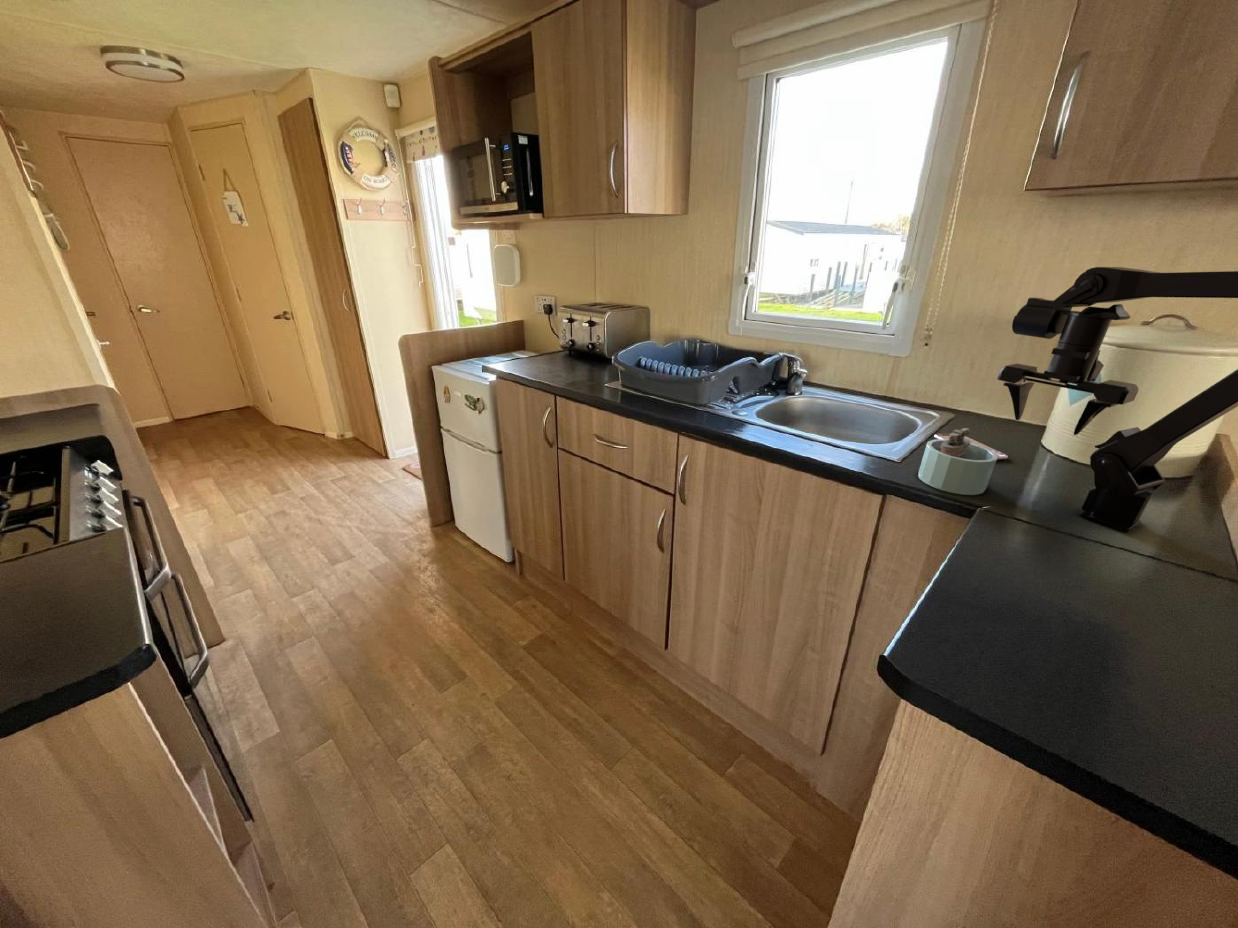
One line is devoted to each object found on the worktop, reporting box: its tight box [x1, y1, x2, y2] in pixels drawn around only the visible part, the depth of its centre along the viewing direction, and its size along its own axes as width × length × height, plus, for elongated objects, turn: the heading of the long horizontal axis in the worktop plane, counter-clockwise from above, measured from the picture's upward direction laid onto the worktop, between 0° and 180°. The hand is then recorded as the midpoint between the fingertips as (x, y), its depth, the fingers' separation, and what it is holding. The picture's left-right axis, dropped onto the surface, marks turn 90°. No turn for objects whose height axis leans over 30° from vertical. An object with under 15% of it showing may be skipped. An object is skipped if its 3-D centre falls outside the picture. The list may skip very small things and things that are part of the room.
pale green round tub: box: [917, 438, 998, 496], centre depth 97 cm, size 12×12×7 cm
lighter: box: [941, 427, 971, 459], centre depth 97 cm, size 8×3×10 cm, turn 124°
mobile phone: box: [933, 433, 1009, 461], centre depth 115 cm, size 8×1×15 cm
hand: (1045, 426), depth 92 cm, fingers open, 9 cm apart
